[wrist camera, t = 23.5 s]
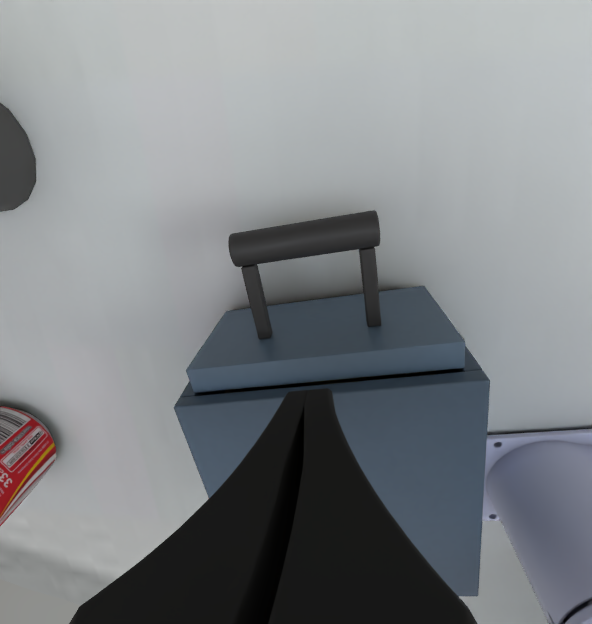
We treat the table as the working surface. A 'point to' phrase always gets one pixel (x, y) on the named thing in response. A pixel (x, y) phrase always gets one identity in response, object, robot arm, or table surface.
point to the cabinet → (380, 452)
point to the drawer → (323, 319)
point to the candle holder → (14, 162)
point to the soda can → (21, 457)
